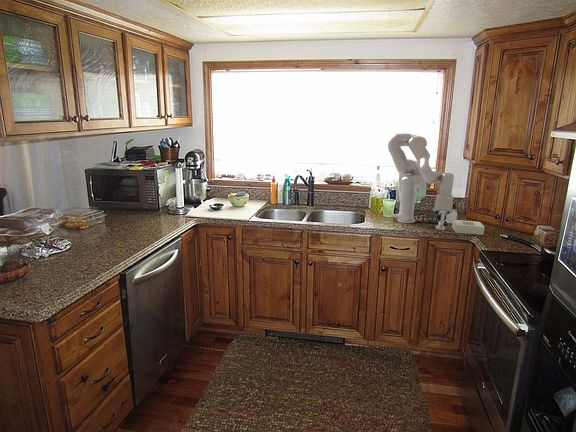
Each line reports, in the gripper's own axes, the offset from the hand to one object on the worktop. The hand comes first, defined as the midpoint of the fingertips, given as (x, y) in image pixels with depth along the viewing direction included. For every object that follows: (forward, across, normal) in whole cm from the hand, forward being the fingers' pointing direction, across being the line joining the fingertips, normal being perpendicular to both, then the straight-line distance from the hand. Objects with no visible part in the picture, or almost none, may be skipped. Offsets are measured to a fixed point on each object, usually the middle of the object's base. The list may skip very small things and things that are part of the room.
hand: (441, 220), depth 255 cm
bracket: (+5, 0, 0) cm, 5 cm away
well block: (+5, +16, 0) cm, 17 cm away
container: (+6, +8, +20) cm, 22 cm away
